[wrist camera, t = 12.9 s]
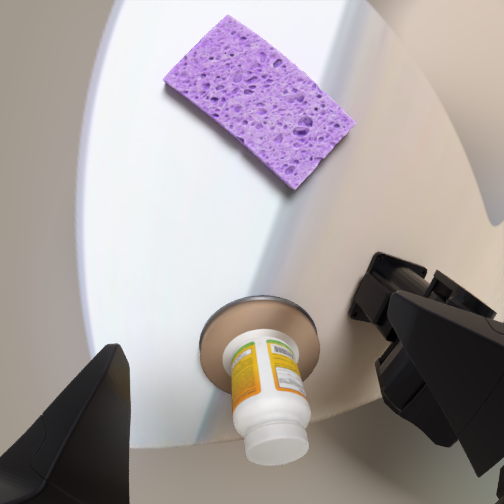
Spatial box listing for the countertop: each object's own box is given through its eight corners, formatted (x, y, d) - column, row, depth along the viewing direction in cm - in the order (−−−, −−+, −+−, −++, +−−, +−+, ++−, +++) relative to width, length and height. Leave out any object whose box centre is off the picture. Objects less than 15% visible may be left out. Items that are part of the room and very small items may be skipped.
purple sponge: (289, 188, 21) (294, 191, 19) (164, 83, 18) (158, 77, 16) (348, 125, 20) (358, 123, 18) (228, 22, 16) (227, 12, 14)
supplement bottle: (235, 383, 24) (239, 474, 15) (226, 338, 22) (226, 437, 13) (293, 375, 24) (317, 463, 15) (292, 330, 22) (323, 423, 13)
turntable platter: (333, 312, 24) (339, 321, 22) (291, 392, 27) (294, 403, 25) (216, 286, 22) (215, 295, 21) (192, 377, 25) (191, 388, 24)
